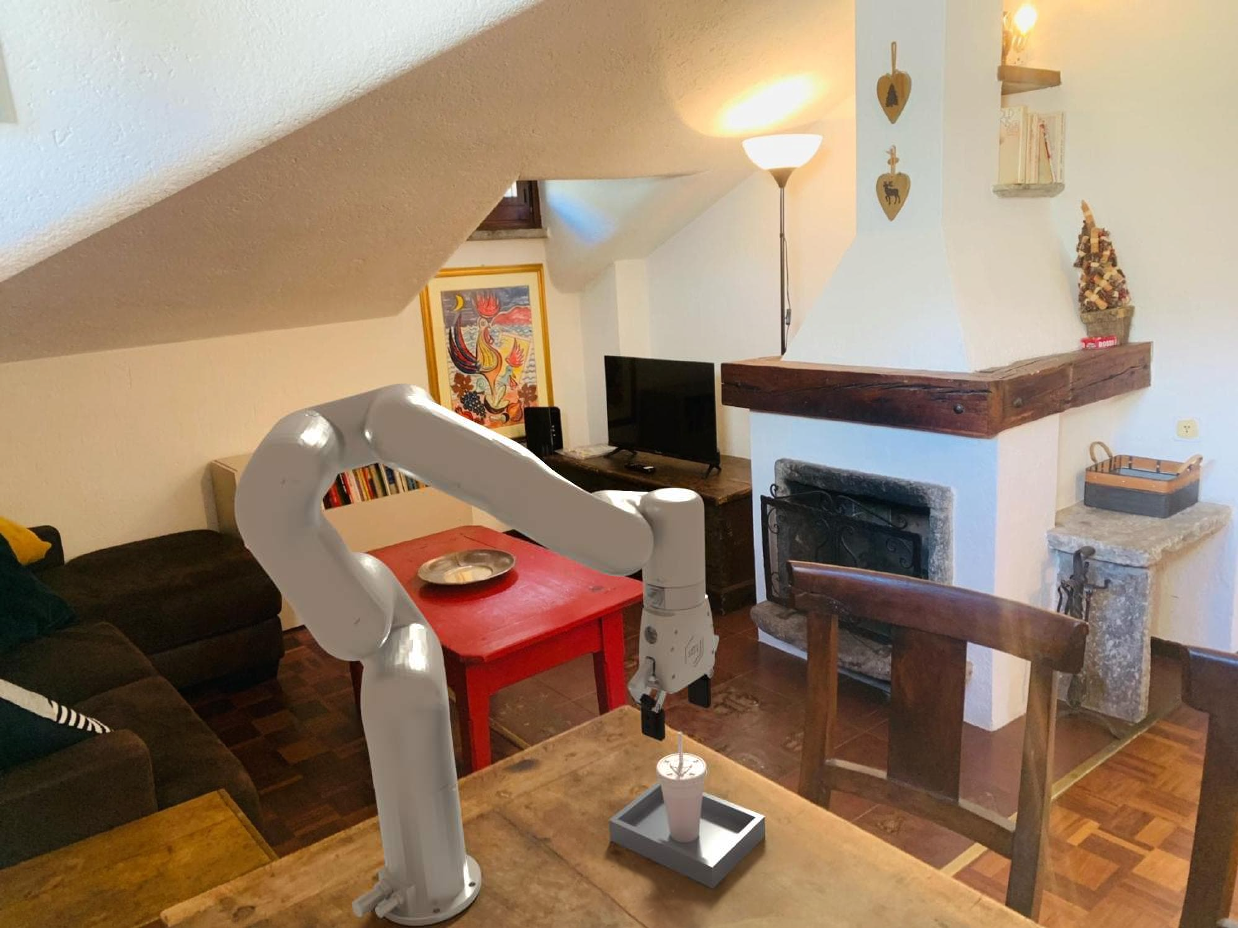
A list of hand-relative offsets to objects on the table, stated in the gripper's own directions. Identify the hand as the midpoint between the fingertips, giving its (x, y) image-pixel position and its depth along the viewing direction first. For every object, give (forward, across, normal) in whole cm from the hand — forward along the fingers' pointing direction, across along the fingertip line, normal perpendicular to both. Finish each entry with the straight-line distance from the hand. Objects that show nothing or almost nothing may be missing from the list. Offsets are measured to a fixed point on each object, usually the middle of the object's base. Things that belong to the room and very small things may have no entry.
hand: (677, 720), depth 116 cm
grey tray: (+17, +1, -1) cm, 17 cm away
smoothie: (+16, 0, 0) cm, 16 cm away
